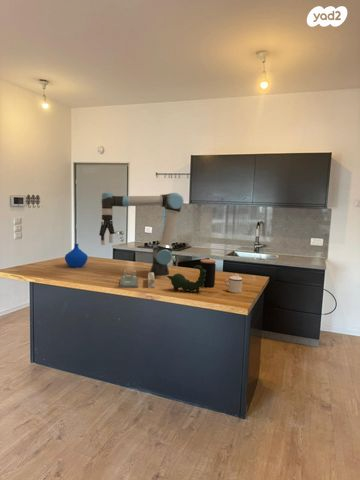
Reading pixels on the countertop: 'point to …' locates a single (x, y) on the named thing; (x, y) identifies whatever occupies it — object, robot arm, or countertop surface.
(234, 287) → the teacup with lid
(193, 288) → the toy figurine
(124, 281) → the front end cap
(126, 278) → the back end cap
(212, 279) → the coffee jar
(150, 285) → the slat
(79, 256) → the vase
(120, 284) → the base board
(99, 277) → the countertop surface
